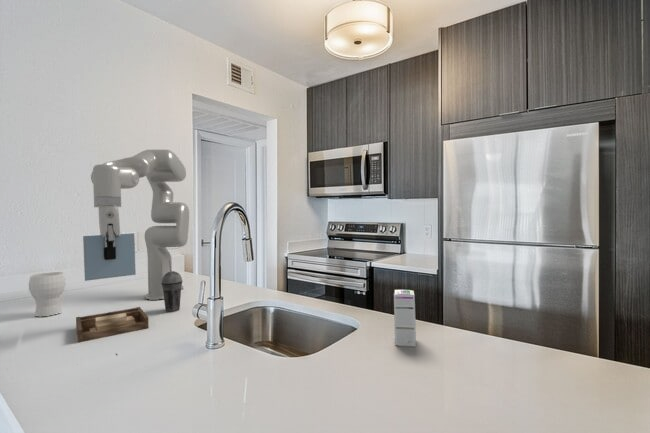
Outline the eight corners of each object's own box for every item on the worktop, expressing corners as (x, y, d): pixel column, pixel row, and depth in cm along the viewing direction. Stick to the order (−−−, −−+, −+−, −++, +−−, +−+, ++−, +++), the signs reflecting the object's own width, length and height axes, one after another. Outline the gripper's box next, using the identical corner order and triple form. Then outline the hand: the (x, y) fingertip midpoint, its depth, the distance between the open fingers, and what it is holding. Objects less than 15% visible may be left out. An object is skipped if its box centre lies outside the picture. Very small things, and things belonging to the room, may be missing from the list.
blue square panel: (134, 273, 116) (133, 233, 115) (135, 274, 114) (134, 233, 114) (84, 279, 107) (83, 236, 107) (85, 280, 106) (83, 236, 105)
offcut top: (125, 317, 108) (125, 312, 108) (126, 320, 105) (126, 316, 105) (95, 322, 104) (95, 317, 104) (95, 326, 100) (95, 321, 100)
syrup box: (416, 347, 92) (416, 294, 92) (394, 345, 93) (393, 293, 93) (415, 339, 98) (414, 289, 97) (394, 337, 99) (393, 288, 99)
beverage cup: (186, 310, 129) (185, 258, 128) (176, 316, 122) (175, 261, 121) (168, 309, 130) (167, 258, 129) (157, 315, 122) (156, 261, 122)
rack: (139, 319, 118) (139, 306, 118) (148, 331, 107) (148, 317, 107) (76, 331, 107) (76, 317, 107) (78, 346, 95) (77, 330, 95)
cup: (50, 318, 120) (49, 277, 120) (21, 319, 121) (20, 277, 120) (73, 309, 131) (72, 271, 131) (46, 310, 131) (45, 271, 131)
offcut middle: (131, 320, 110) (131, 315, 110) (134, 323, 106) (134, 319, 106) (94, 327, 103) (94, 322, 103) (97, 331, 100) (97, 326, 100)
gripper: (124, 202, 106) (126, 260, 106) (117, 203, 118) (119, 255, 119) (96, 202, 101) (98, 263, 102) (92, 203, 114) (93, 257, 114)
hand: (109, 258), depth 110 cm, fingers closed on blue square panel, 2 cm apart
